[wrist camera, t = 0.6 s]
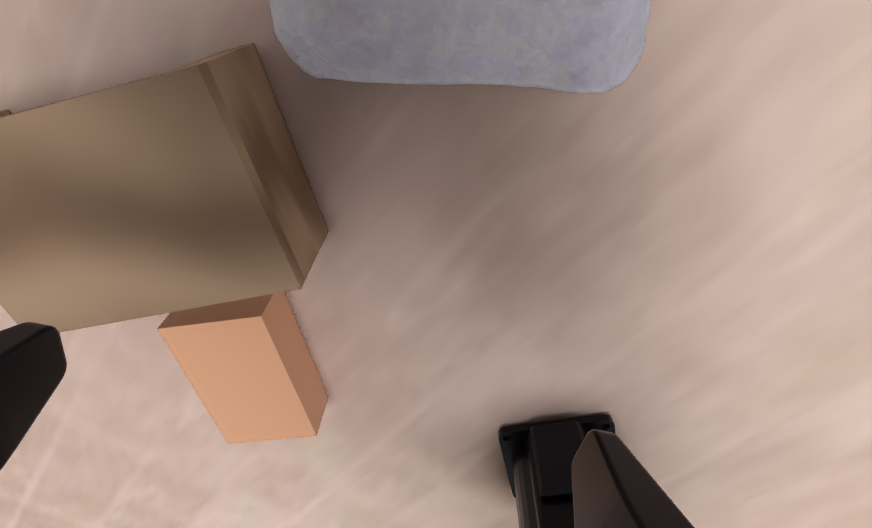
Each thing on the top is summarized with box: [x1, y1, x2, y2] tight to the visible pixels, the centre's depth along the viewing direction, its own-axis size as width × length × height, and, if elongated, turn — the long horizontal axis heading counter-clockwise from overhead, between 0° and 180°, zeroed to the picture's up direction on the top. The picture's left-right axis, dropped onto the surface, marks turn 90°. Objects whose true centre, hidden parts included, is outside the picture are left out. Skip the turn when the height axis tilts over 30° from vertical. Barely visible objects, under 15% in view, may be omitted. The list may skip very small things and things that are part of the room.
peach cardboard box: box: [157, 292, 328, 444], centre depth 25 cm, size 8×5×3 cm, turn 10°
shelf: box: [0, 43, 328, 332], centre depth 19 cm, size 8×12×4 cm, turn 103°
